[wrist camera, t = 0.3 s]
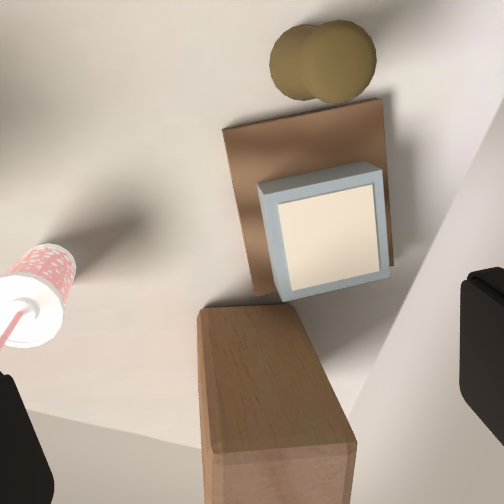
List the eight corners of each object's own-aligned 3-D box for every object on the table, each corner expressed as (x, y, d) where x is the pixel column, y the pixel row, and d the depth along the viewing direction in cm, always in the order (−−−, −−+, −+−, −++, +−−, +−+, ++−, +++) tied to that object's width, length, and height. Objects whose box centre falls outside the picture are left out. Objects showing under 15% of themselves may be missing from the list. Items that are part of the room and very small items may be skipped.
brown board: (222, 129, 42) (223, 131, 40) (375, 98, 43) (381, 99, 41) (253, 290, 48) (256, 297, 46) (387, 260, 49) (393, 265, 47)
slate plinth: (256, 183, 42) (264, 195, 39) (364, 160, 43) (383, 170, 39) (274, 283, 46) (283, 303, 42) (373, 260, 47) (391, 278, 43)
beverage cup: (36, 305, 45) (-22, 401, 32) (1, 249, 43) (-76, 328, 30) (96, 282, 45) (63, 368, 32) (65, 225, 43) (16, 293, 30)
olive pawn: (352, 53, 41) (408, 48, 31) (311, 114, 42) (352, 129, 32) (296, 8, 39) (336, -12, 29) (255, 74, 41) (280, 76, 30)
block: (197, 387, 51) (208, 569, 33) (196, 304, 48) (206, 454, 29) (289, 381, 53) (348, 552, 34) (294, 299, 49) (364, 441, 30)
